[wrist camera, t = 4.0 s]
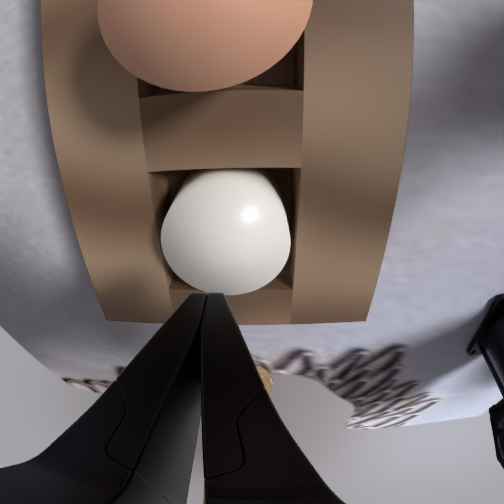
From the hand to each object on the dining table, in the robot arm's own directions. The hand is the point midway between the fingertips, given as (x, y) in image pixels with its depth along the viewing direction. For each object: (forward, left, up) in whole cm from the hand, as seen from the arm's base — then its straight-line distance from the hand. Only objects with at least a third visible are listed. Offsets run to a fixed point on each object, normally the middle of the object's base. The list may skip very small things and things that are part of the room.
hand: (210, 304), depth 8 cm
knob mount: (+7, 0, -8) cm, 11 cm away
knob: (0, 0, -6) cm, 6 cm away
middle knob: (+7, 0, -4) cm, 8 cm away
